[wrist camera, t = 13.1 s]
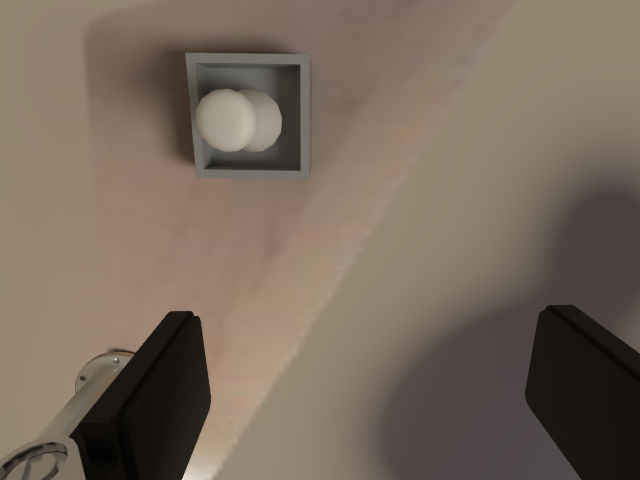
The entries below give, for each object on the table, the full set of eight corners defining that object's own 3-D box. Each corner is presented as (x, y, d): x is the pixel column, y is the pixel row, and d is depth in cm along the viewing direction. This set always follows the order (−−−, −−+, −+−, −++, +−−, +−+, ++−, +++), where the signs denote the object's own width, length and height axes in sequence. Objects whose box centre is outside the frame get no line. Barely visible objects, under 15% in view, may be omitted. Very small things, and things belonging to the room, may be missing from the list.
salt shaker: (281, 153, 39) (260, 170, 26) (226, 146, 38) (179, 159, 26) (287, 94, 37) (267, 82, 24) (229, 86, 37) (181, 69, 24)
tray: (310, 172, 40) (308, 179, 36) (210, 171, 40) (196, 177, 36) (311, 61, 37) (309, 54, 32) (201, 60, 37) (185, 52, 33)
